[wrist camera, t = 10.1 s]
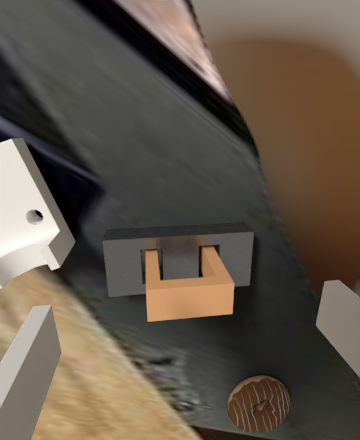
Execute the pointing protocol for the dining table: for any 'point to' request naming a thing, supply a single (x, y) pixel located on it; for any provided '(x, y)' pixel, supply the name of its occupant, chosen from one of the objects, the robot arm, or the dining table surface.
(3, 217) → the bracket
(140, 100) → the dining table surface
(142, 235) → the grey slotted block
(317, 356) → the dining table surface
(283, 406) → the donut
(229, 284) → the clip
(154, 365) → the dining table surface
